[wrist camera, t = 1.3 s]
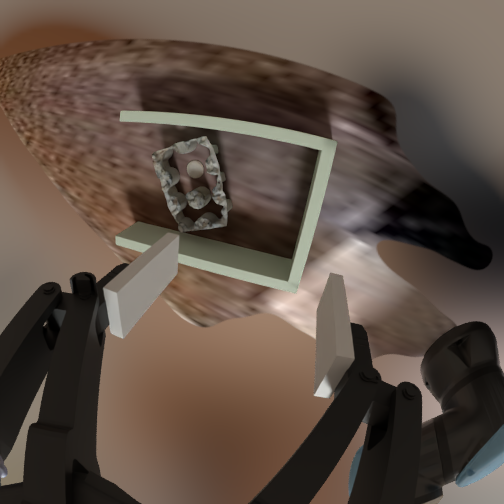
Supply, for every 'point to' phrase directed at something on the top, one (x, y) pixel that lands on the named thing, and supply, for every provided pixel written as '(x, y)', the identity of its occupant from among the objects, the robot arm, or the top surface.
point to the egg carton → (198, 195)
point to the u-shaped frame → (227, 255)
